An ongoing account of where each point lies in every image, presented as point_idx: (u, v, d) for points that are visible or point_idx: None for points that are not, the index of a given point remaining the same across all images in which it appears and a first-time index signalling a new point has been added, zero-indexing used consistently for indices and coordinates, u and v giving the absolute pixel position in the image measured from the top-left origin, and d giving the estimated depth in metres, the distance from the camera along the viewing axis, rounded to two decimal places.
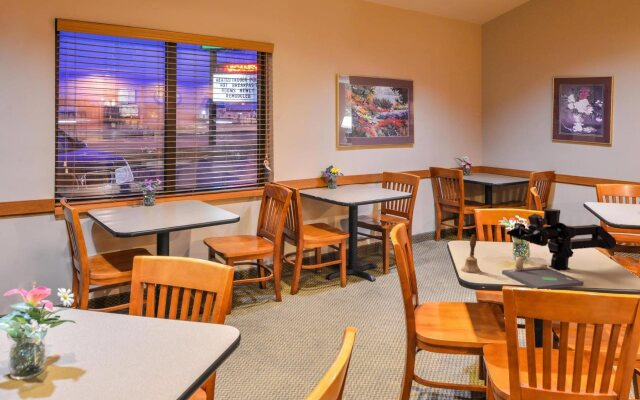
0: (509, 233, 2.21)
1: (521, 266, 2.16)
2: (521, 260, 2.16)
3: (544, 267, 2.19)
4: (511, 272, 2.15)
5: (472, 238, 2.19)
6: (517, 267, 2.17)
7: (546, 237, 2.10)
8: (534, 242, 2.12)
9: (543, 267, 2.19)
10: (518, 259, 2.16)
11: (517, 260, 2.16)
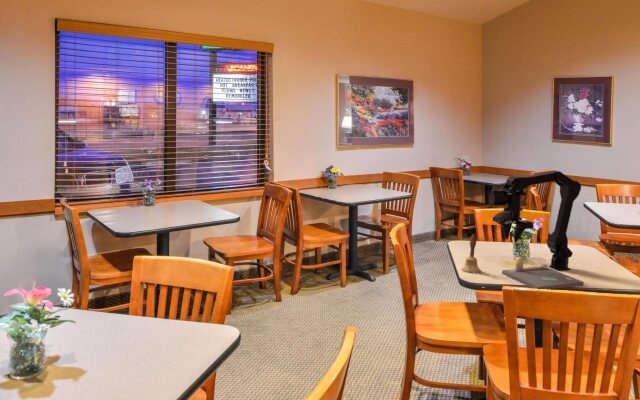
0: (507, 236, 2.24)
1: (521, 266, 2.16)
2: (521, 260, 2.16)
3: (544, 267, 2.19)
4: (511, 272, 2.15)
5: (472, 238, 2.19)
6: (517, 267, 2.17)
7: (527, 225, 2.12)
8: (523, 230, 2.18)
9: (543, 267, 2.19)
10: (518, 259, 2.16)
11: (517, 260, 2.16)
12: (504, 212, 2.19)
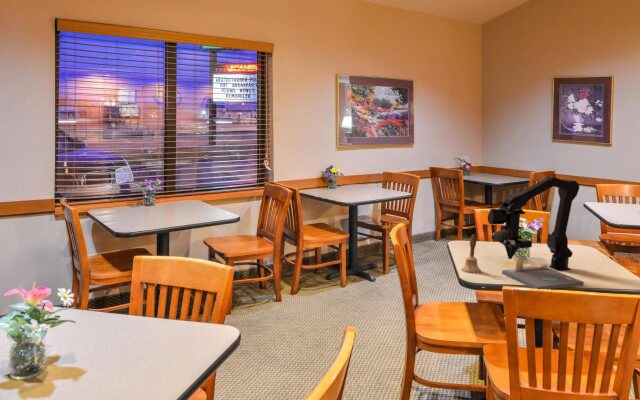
0: None
1: (521, 266, 2.16)
2: (521, 260, 2.16)
3: (544, 267, 2.19)
4: (511, 272, 2.15)
5: (472, 238, 2.19)
6: (517, 267, 2.17)
7: (526, 244, 2.13)
8: (517, 247, 2.21)
9: (543, 267, 2.19)
10: (518, 259, 2.16)
11: (517, 260, 2.16)
12: (503, 231, 2.20)
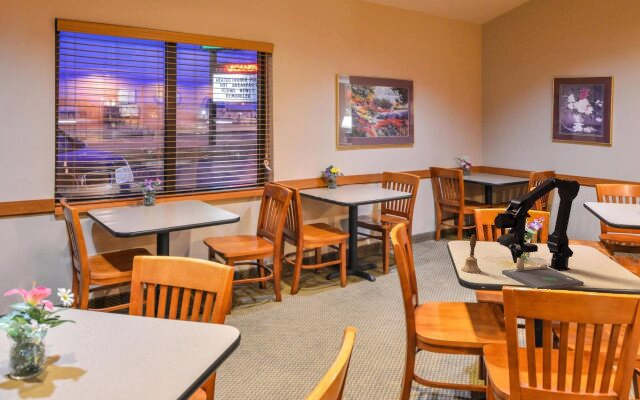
0: None
1: (522, 266, 2.16)
2: (522, 260, 2.15)
3: (544, 267, 2.19)
4: (511, 272, 2.15)
5: (472, 238, 2.19)
6: (518, 267, 2.16)
7: (531, 249, 2.10)
8: (523, 251, 2.18)
9: (543, 267, 2.19)
10: (519, 259, 2.15)
11: (518, 260, 2.16)
12: (508, 234, 2.17)
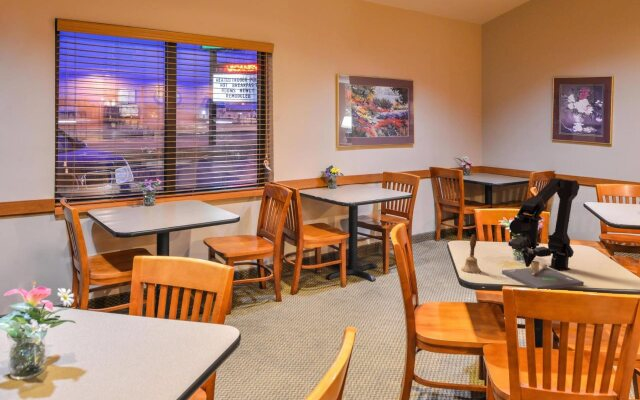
0: None
1: (538, 270, 2.11)
2: (538, 264, 2.10)
3: (546, 267, 2.20)
4: (511, 272, 2.15)
5: (472, 238, 2.19)
6: (535, 272, 2.10)
7: (545, 253, 2.04)
8: (535, 255, 2.12)
9: (545, 267, 2.20)
10: (536, 263, 2.10)
11: (534, 265, 2.10)
12: (520, 238, 2.11)
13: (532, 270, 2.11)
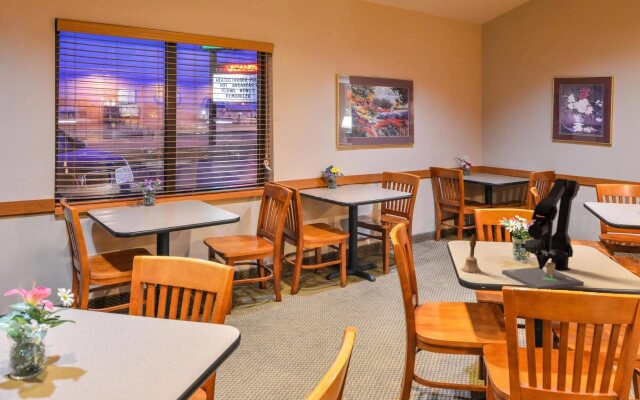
0: (542, 266, 2.11)
1: None
2: (554, 265, 2.08)
3: (547, 266, 2.20)
4: (511, 272, 2.15)
5: (472, 238, 2.19)
6: (552, 274, 2.08)
7: (559, 255, 2.01)
8: (549, 257, 2.09)
9: (546, 267, 2.20)
10: (553, 265, 2.07)
11: (552, 266, 2.07)
12: (534, 240, 2.07)
13: (550, 272, 2.08)
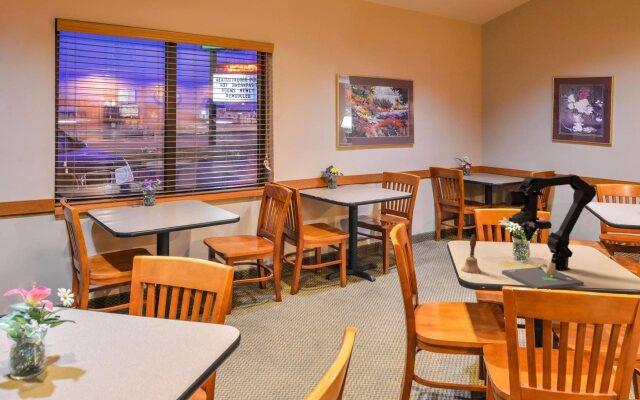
0: None
1: None
2: None
3: (547, 266, 2.20)
4: (511, 272, 2.15)
5: (472, 238, 2.19)
6: (553, 274, 2.08)
7: (546, 225, 2.13)
8: (536, 229, 2.21)
9: (546, 267, 2.20)
10: (554, 265, 2.07)
11: (553, 266, 2.07)
12: (521, 213, 2.19)
13: (550, 272, 2.08)
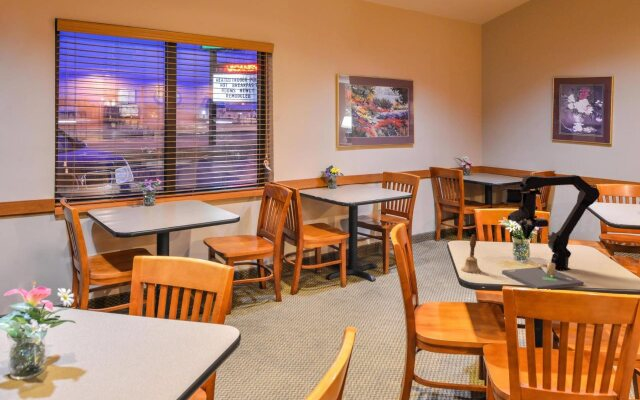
0: None
1: None
2: None
3: (547, 266, 2.20)
4: (511, 272, 2.15)
5: (472, 238, 2.19)
6: (553, 274, 2.08)
7: (542, 223, 2.16)
8: (533, 227, 2.24)
9: (546, 267, 2.20)
10: (554, 265, 2.07)
11: (553, 266, 2.07)
12: (519, 210, 2.23)
13: (550, 272, 2.08)
